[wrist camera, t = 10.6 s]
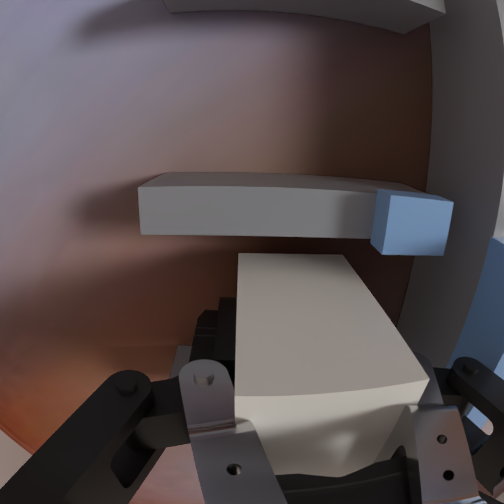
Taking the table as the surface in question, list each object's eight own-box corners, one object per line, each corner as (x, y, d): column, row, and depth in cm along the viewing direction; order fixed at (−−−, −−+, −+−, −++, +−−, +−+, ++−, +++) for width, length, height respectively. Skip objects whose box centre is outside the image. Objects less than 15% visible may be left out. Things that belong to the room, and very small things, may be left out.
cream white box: (238, 253, 12) (234, 396, 5) (342, 254, 12) (429, 379, 5) (237, 348, 13) (236, 492, 7) (326, 347, 13) (370, 479, 7)
